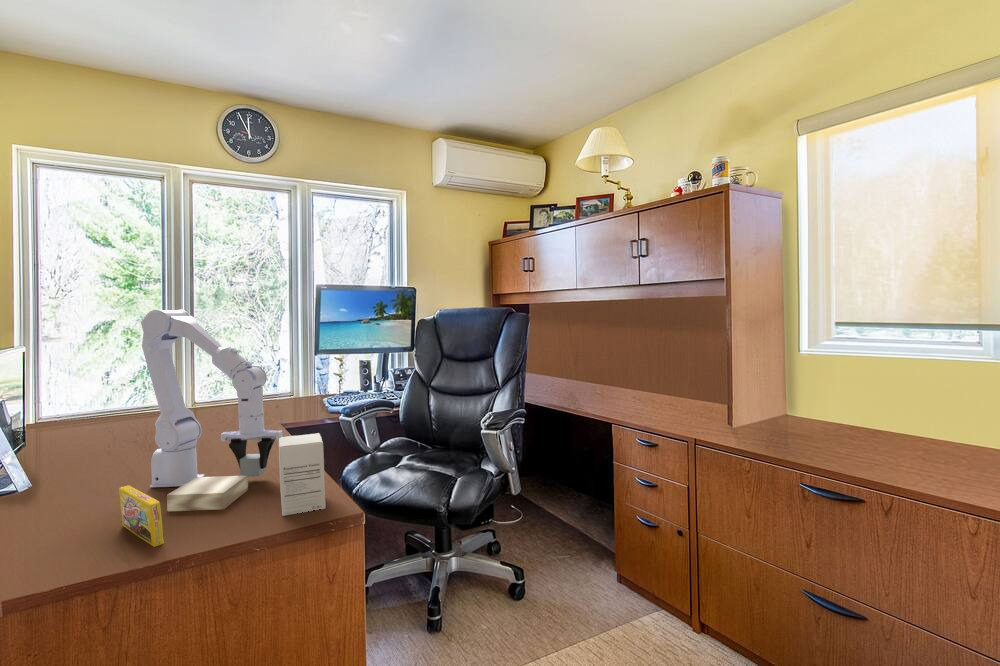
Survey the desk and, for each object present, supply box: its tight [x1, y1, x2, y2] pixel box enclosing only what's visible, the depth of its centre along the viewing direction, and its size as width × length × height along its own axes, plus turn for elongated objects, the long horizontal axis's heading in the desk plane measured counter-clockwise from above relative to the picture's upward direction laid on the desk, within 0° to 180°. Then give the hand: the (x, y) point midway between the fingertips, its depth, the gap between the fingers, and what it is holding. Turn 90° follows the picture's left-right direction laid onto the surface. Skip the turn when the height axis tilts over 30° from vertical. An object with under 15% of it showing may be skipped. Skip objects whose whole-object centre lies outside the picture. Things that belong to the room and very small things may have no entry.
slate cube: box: [239, 453, 267, 478], centre depth 130 cm, size 4×4×4 cm
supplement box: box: [278, 432, 327, 517], centre depth 113 cm, size 9×9×15 cm
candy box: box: [118, 484, 165, 548], centre depth 100 cm, size 16×2×8 cm, turn 53°
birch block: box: [166, 475, 249, 512], centre depth 118 cm, size 12×12×4 cm
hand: (253, 468), depth 130 cm, fingers closed on slate cube, 4 cm apart
